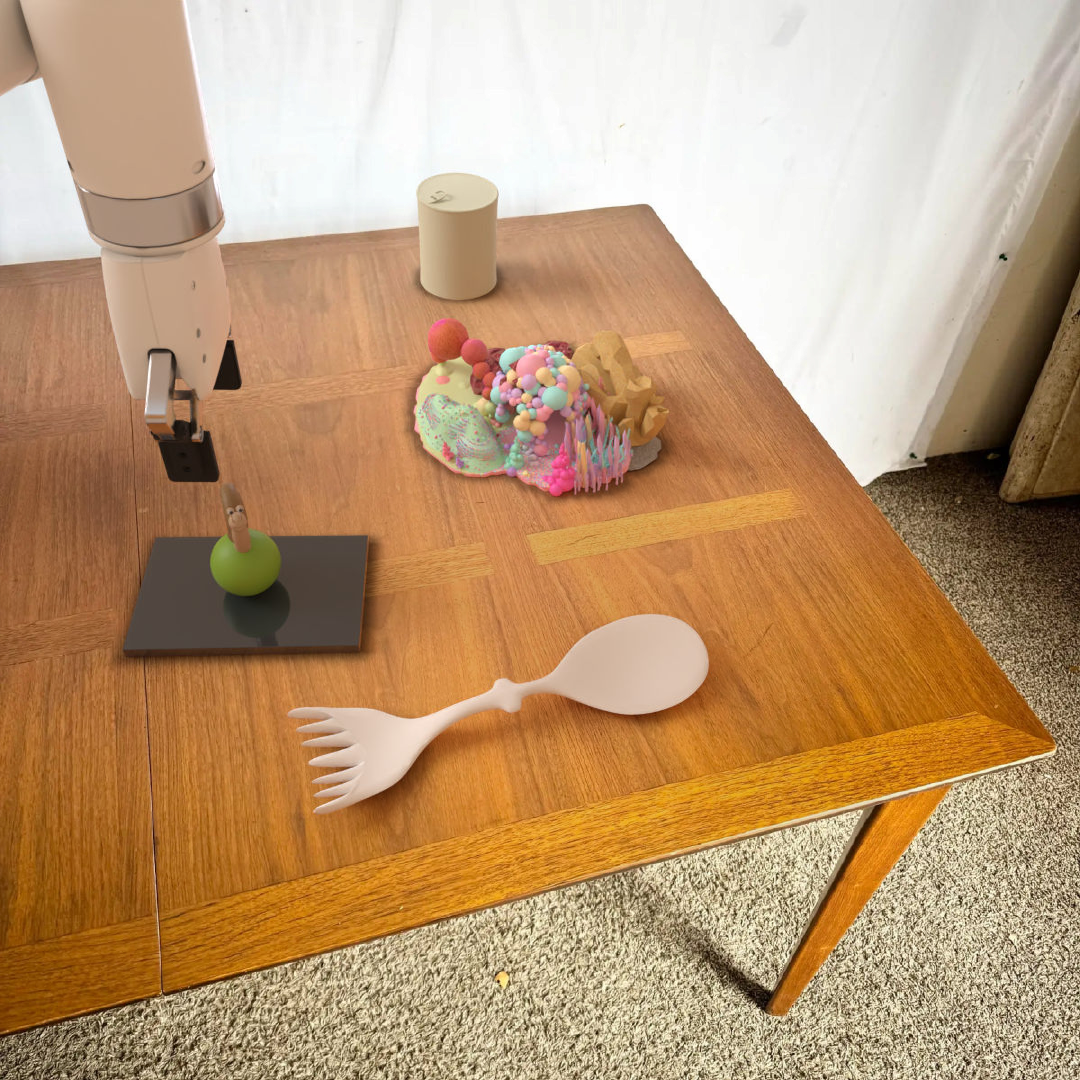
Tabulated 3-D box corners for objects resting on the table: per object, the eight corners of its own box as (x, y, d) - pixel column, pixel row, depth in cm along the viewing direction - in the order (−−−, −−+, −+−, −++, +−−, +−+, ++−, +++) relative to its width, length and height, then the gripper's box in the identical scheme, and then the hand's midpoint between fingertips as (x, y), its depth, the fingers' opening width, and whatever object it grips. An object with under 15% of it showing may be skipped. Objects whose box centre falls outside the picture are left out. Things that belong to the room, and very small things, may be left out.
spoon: (290, 731, 71) (284, 704, 69) (670, 615, 81) (676, 588, 78) (319, 837, 66) (313, 812, 63) (724, 699, 75) (732, 673, 73)
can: (404, 279, 115) (398, 183, 106) (463, 254, 119) (463, 160, 111) (453, 313, 110) (451, 215, 102) (513, 286, 115) (516, 191, 106)
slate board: (127, 661, 75) (122, 649, 74) (159, 548, 83) (155, 536, 82) (360, 656, 76) (358, 645, 75) (369, 546, 85) (368, 534, 84)
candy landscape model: (612, 339, 108) (621, 266, 101) (698, 477, 93) (715, 402, 86) (393, 372, 102) (387, 296, 95) (446, 525, 87) (444, 448, 80)
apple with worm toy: (228, 626, 76) (196, 520, 67) (211, 570, 80) (179, 462, 71) (295, 606, 78) (273, 500, 69) (276, 552, 82) (252, 445, 73)
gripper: (119, 129, 60) (176, 355, 72) (37, 280, 48) (123, 520, 60) (243, 134, 61) (278, 357, 73) (192, 284, 49) (245, 520, 61)
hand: (208, 431), depth 67 cm, fingers open, 9 cm apart
